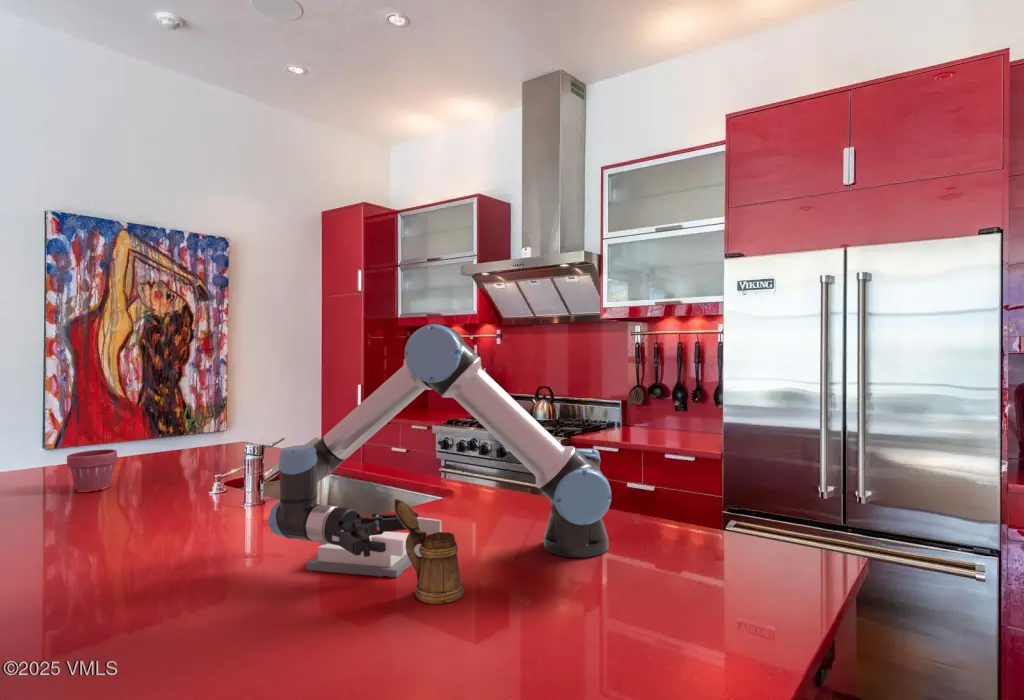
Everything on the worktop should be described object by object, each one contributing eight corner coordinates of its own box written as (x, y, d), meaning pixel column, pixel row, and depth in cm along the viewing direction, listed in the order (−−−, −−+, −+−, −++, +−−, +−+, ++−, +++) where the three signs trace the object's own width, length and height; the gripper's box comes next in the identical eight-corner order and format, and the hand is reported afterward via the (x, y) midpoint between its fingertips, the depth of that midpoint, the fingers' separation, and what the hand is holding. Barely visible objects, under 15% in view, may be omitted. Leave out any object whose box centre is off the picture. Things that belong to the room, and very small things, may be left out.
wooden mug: (404, 582, 121) (403, 493, 121) (469, 587, 118) (467, 495, 118) (386, 600, 112) (384, 504, 112) (455, 606, 109) (454, 508, 109)
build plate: (426, 551, 139) (425, 532, 139) (396, 577, 123) (396, 555, 123) (344, 545, 144) (344, 526, 144) (306, 569, 128) (305, 548, 128)
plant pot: (56, 494, 200) (55, 456, 200) (92, 484, 214) (91, 448, 213) (93, 495, 197) (93, 456, 197) (127, 485, 211) (127, 449, 211)
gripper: (372, 526, 135) (454, 537, 126) (290, 563, 112) (383, 580, 104) (372, 493, 135) (454, 501, 126) (289, 524, 112) (382, 537, 104)
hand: (422, 537), depth 115 cm, fingers open, 13 cm apart
